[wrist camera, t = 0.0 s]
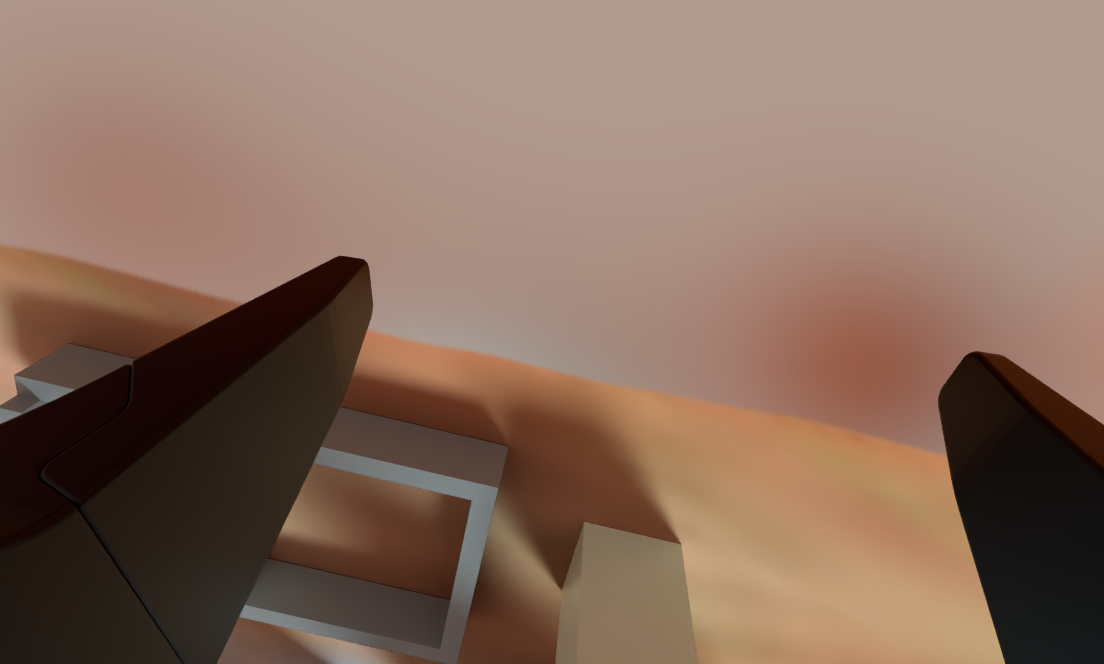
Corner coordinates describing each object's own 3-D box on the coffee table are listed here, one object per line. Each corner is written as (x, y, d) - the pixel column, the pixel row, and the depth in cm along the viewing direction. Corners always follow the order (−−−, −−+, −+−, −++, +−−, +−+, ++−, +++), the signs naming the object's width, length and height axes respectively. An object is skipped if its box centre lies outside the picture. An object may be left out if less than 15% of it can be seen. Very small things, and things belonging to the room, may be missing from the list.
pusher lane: (508, 446, 30) (494, 503, 26) (468, 617, 35) (451, 684, 31) (68, 343, 29) (-8, 387, 26) (95, 531, 35) (35, 590, 31)
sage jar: (655, 615, 34) (669, 799, 26) (557, 592, 34) (540, 770, 26) (686, 542, 31) (712, 720, 23) (581, 517, 31) (571, 688, 23)
